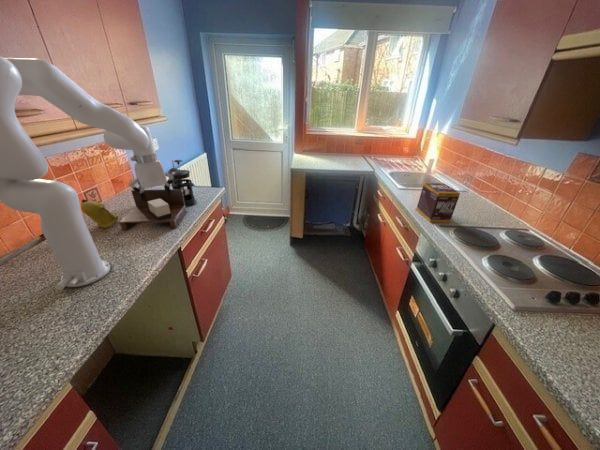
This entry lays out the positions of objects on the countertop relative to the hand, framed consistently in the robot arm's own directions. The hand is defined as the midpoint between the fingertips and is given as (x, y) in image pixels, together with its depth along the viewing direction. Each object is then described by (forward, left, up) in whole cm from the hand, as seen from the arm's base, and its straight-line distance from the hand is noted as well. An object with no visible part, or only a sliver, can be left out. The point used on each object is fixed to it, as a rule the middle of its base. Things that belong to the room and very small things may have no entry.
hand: (156, 197), depth 108 cm
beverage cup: (+34, +3, -12) cm, 37 cm away
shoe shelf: (+2, +4, -12) cm, 13 cm away
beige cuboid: (0, +1, -8) cm, 8 cm away
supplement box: (-2, -132, -12) cm, 133 cm away
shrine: (-3, +23, -12) cm, 26 cm away
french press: (+21, -4, -12) cm, 25 cm away
